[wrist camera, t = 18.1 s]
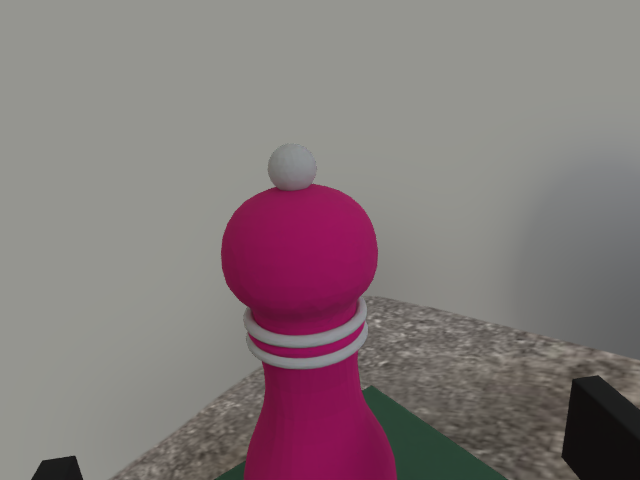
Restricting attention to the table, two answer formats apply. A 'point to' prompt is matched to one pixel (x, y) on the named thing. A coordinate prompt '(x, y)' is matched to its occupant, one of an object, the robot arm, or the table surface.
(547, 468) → the table surface
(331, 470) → the pepper mill
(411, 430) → the book
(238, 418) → the table surface
